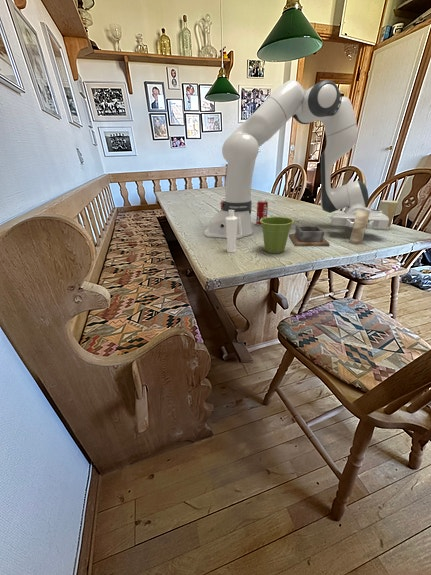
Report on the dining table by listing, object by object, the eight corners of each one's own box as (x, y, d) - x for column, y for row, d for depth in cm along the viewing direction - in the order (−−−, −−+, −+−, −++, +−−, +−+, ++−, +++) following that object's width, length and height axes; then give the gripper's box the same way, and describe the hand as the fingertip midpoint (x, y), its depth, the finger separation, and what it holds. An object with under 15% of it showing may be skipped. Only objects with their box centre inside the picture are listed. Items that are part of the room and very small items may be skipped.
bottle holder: (294, 246, 96) (296, 233, 94) (288, 236, 107) (290, 224, 105) (329, 246, 95) (331, 233, 93) (319, 236, 106) (321, 224, 104)
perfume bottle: (229, 253, 91) (229, 212, 84) (223, 250, 94) (223, 210, 87) (239, 251, 93) (240, 210, 85) (233, 248, 96) (234, 208, 89)
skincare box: (373, 229, 113) (381, 201, 107) (372, 226, 116) (379, 199, 110) (389, 230, 111) (398, 202, 105) (388, 227, 114) (396, 200, 108)
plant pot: (281, 243, 99) (284, 215, 94) (296, 254, 89) (300, 222, 83) (253, 246, 97) (255, 217, 92) (265, 257, 87) (267, 225, 81)
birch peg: (351, 244, 96) (359, 213, 90) (347, 240, 100) (354, 210, 94) (363, 244, 96) (372, 212, 90) (359, 240, 100) (366, 210, 94)
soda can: (266, 223, 127) (267, 199, 122) (266, 226, 123) (268, 201, 117) (255, 223, 128) (257, 199, 122) (256, 226, 123) (257, 201, 118)
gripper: (331, 208, 107) (332, 215, 96) (386, 210, 100) (393, 218, 89) (329, 223, 110) (329, 231, 99) (382, 226, 103) (388, 235, 92)
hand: (360, 225), depth 94 cm, fingers closed on birch peg, 4 cm apart
